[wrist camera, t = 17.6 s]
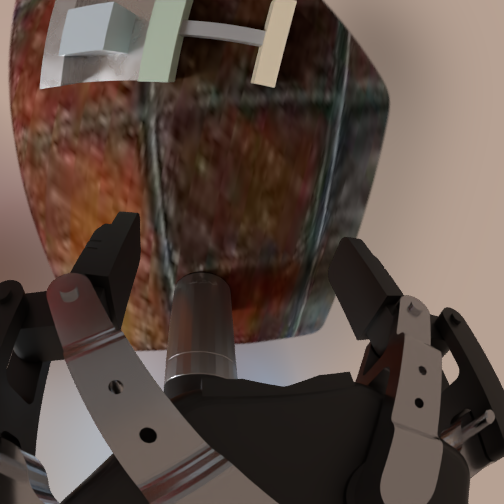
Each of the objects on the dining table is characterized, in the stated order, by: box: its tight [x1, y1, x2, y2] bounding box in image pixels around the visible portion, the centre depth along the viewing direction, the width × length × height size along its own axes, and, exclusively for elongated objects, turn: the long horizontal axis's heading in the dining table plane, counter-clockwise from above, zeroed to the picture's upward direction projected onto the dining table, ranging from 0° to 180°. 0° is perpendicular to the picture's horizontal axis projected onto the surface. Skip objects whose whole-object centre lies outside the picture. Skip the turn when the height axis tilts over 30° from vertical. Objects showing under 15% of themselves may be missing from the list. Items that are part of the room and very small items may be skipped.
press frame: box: [40, 0, 155, 89], centre depth 17 cm, size 12×14×6 cm
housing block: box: [59, 2, 136, 57], centre depth 16 cm, size 5×5×7 cm
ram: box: [138, 0, 297, 88], centre depth 20 cm, size 12×13×4 cm
